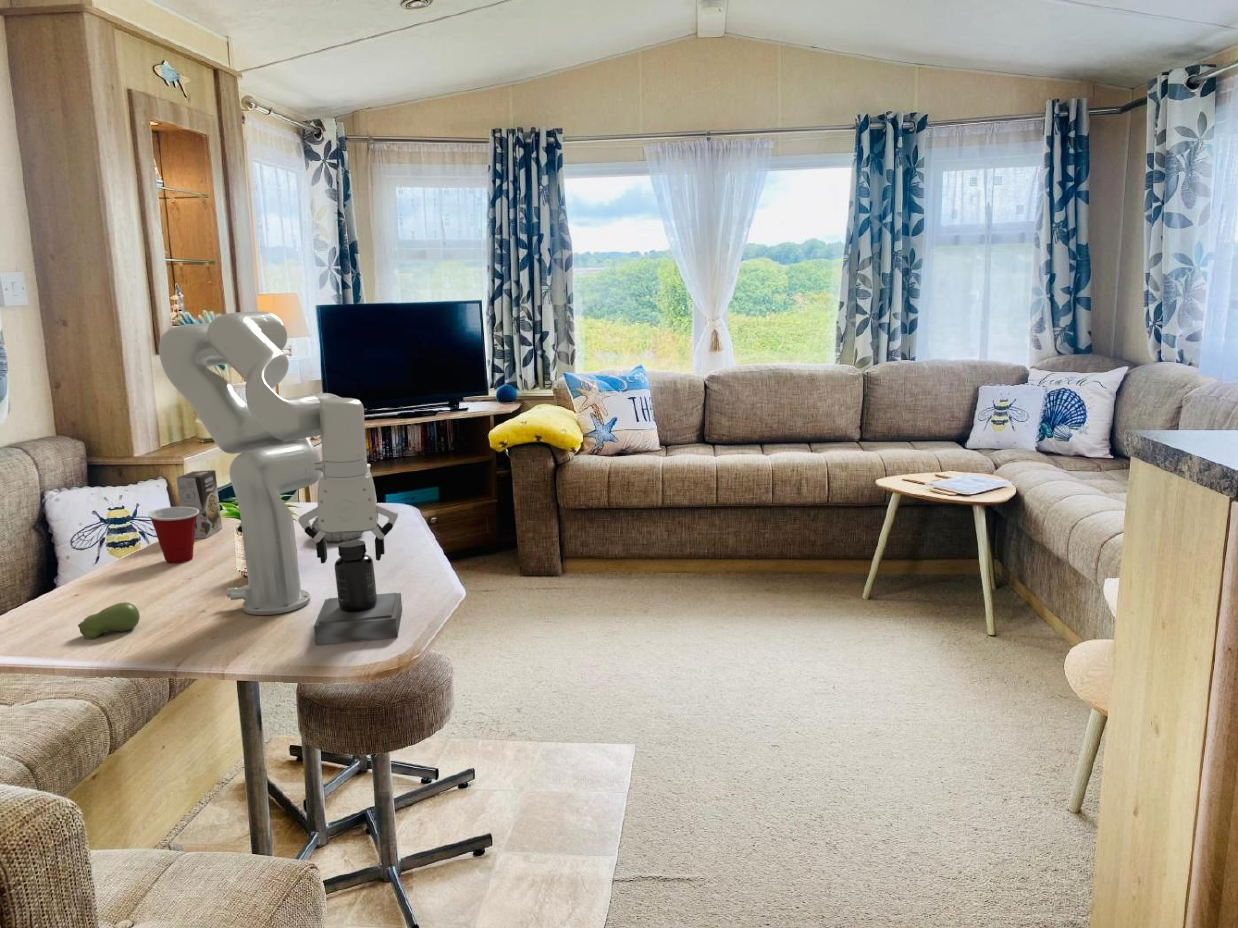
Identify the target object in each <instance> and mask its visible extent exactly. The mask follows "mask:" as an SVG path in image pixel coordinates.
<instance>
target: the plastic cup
mask: <svg viewBox="0 0 1238 928" xmlns="http://www.w3.org/2000/svg"><path fill="white" fill-rule="evenodd" d="M198 514H199V510H198V509H196V508H192V507H180V506H170V507H164V508H163V507H161V508H158V509H155V510H152V511H150V512H148V515H147V516H148V518H149V519H150V521H151V523H152V525H153V528H154V531H155V534H156V538H157V540H158V544H159V546H160V550H161V552H162V555H163V557H164V561H165V562H166V564H172V565H173V564H181V563H182V564H183V563H186V562H189V561H191V560H193V557H194V546H195V538H194V536H195V524H196V519H197V515H198Z"/></svg>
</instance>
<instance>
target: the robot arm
mask: <svg viewBox="0 0 1238 928" xmlns="http://www.w3.org/2000/svg"><path fill="white" fill-rule="evenodd" d="M287 342H288V332H287V328H286V326H285V324H284V322H283V321H282V320H281V319H280V318H279V316H277V315H276V314H274V313H272V312H269V311H264V310H263V311H262V310H261V311H239V312H229V313H228V312H227V313H224V314H221V315H218V316H217V317H215V318H214V319H212V321H211V322H201V323H190V324H189V323H188V324H182V325H177V326H175V327H172V328H170V329H168V330H167V331H165V332H164V333H163V334H162V336H161V337H160V340H159V343H158V354H159V355H158V356H159V360H160V364H161V366H162V369H163V371H164V374H165V375H166V377H167V379H168V380H169V381H170V383H171V384H172V386H173V387H175V389H176V390H177V392H179V393H180V394H181V395H182V396H183V397H184V399H185V400H186V401H187V402H188V403H189V404H190V406H191V407H192V408H193V410H194V412H195V413H196V415H197V416H198V419H200V422H201V423H202V425H203V426H204V428H205V429H206V431H207V432H208V433H209V435H210V437H211V439H212V440H213V441H214V443H215V444H216V446H217V447H218V448H219V449H220V450H221V451H222V452H224V453H226V454H228V455H229V454H231V455H235V454H236V455H237V456H236V457H234V458H233V460H232V461H231V463H230V465H229V466H230V467H229V470H228V471H229V479H230V482H231V487H232V489H233V492H234V495H235V497H236V498H235V499H236V501H237V505H238V507H237V508H238V512H239V516H240V525H241V532H242V540H243V549H244V559H245V564H246V565H245V566H246V574H247V581H248V582H247V583H248V584H246V585H243V586H242V587H238V586H237V587H235V586H234V587H227V588H226V596H227V598H228V599H229V598H230V601H236V600H243V602H242V604H241V605H242V610H243V612H245V613H247V614H250V615H255V616H268V615H269V616H271V615H278V614H283V613H289V612H292V611H295V610H298V609H301V608H302V607H305V606H306V605H307V604H309V603H310V600H311V596H310V592H308V591H307V590H305V589H301V588H302V587H301V578H300V570H299V569H300V568H299V560H298V559H299V557H298V552H297V551H298V550H297V540H296V532H295V525H294V523H295V522H294V517H293V513H292V511H291V509H290V508H289V506H288V505H287V503H285V502H284V500H283V499H282V498H281V496H280V495H282V494H285V493H289V492H293V491H297V490H301V489H304V488H308V487H310V486H313V485H314V484H316V483H317V482H318V487H317V507H315V508H313V509H311V510H310V511H308V512H306V513H304V514H302V515H300V516H299V517H298V519H297V520H298V523H299V525H300V527H301V528H302V529H303V531H304V533H305V534H306V535H307V536H309V537H310V538H311V539H312V540H313V542H314V543H315V545H316V546H315V547H316V548H315V549H316V558H317V559H318V558H319V559H320V564H325V563H326V562H327V559H328V549H327V541H326V539H325V537H324V535H325V534H326V533H348V532H364V533H366V532H371V533H372V534H373V535H374V536H375V538H374V550H375V560H376V561H381V558H382V555H385V553H386V552H385V551H386V550H385V537H386V535H388V534H389V533H390V532H391V530H392V529H393V528H394V526H395V524H396V521H397V520H398V517H399V513H398V512H397V511H395V510H393V509H390V508H388V507H386V506H383V505H381V504H379V503H378V500H377V494H376V487H375V483H374V479H373V476H372V473H371V472H370V473H368V470H367V464H368V457H367V456H368V455H367V442H366V438H367V437H366V423H365V422H366V421H365V409H364V404H363V403H362V402H361V401H360V399H357V398H352V397H341V396H338V395H336V394H333V393H330V392H329V393H328V392H322V393H321V392H319V393H313V394H306V395H299V396H291V397H286V398H282V397H281V396H280V395H279V394H277V393H276V392H275V391H274V390H273V388H275V387H276V386H277V385H279V384H280V383H281V382H282V381H283V380H284V378H285V377H286V375H287V374H288V371H289V359H288V357H287V355H286V354H285V353H284V352H283V350H284V349H285V346H286V345H287ZM224 365H230V367H232V368H233V370H235V371H236V373H237V374H239V376H240V377H242V378H243V380H244V381H246V384H245V399H246V400H245V401H244V400H243V399H242V398H241V396H240V395H239V394H238V393H237V390H236V389H235V387H234V386H233V385H232V384H231V383H230V382H229V381H228V380H227V379H226V378H224V377H223V376H221V375H220V374H218V373H216V372H215V371H213V370H211V369H209V368H208V367H213V366H224ZM312 437H320V440H321V441H320V442H321V452H322V455H321V456H322V460H321V458H320V455H319V454H318V451H317V449H316V447H315V445H314V444H313V443H312V442H311V440H310V438H312ZM379 515H381V516H384V517H386V518H387V519H388V520H387V522H386V523H385V524H384V525H383V526H382V525H380V524H379V523H378V520H379ZM317 516H318V526H319V530H318V531H317V530H316V529H315V528H314V527H313V526H311V525H312V524H311V523H310V521H311V520H313V519H315V518H316V517H317Z"/></svg>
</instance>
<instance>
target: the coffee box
mask: <svg viewBox="0 0 1238 928" xmlns="http://www.w3.org/2000/svg"><path fill="white" fill-rule="evenodd" d="M217 484H218V483H217V474H216V470H213V469H212V470H199V471H197V470H196V471H190V472H188V473H185V474H183V475H181V476H178V477H176V485H177V495H178V502H179V507H192V508H196V509H198V510H199V514H198V515H197V519H196V524H195V536H194V539H207V538H209V537H211V536H213V535H215V534H216V533H218V532H219V531H221V530H222V529H223V524H222V523H223V522H222V515H221V507H220V500H219V492H218V485H217ZM218 502H219V504H218Z"/></svg>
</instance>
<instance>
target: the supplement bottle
mask: <svg viewBox="0 0 1238 928" xmlns="http://www.w3.org/2000/svg"><path fill="white" fill-rule="evenodd" d="M366 546H367V545H366V541H365V540H360V539H357V540H356V539H352V540H348V541H342V542H341V543H340V542H339V544H338V545H337V548H338V556H339V557H338V559H337V560H336V561H335V562H334V574H335V575H334V576H335V582H336V584H335V585H336V590H337V598H338V601H339V607H340V609H341V610H343V611H346V612H359V611H364V610H367V609H370V608H372V607H374V606H375V605H376V603H377V587H376V586H377V585H376V577H375V567H374V560H373V558H372V557H371V556H370V555H368V554H366V553H367V552H368V551H367V547H366Z"/></svg>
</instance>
